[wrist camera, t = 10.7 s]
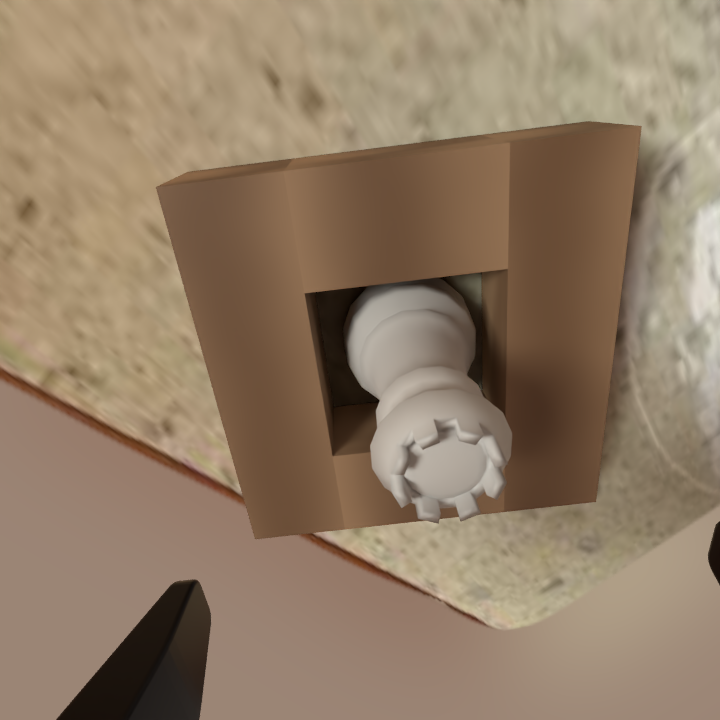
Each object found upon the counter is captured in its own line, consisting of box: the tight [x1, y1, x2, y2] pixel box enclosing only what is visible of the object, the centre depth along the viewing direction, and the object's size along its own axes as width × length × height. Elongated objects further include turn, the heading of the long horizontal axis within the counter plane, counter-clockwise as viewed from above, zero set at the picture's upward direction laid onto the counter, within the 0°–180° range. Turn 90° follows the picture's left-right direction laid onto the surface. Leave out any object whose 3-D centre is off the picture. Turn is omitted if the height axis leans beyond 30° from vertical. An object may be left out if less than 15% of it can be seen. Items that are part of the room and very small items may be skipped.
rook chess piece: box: [343, 278, 512, 523], centre depth 15 cm, size 4×4×8 cm
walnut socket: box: [156, 121, 642, 539], centre depth 17 cm, size 12×12×3 cm
